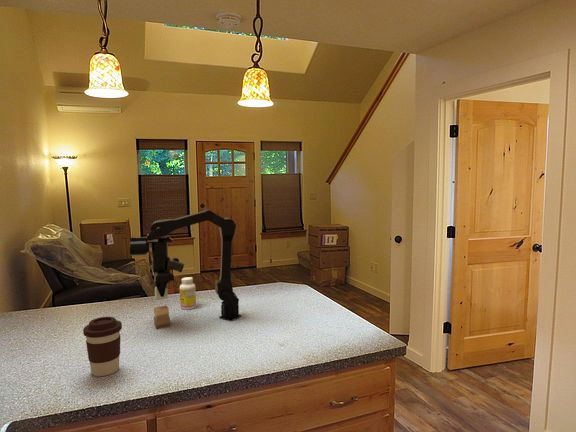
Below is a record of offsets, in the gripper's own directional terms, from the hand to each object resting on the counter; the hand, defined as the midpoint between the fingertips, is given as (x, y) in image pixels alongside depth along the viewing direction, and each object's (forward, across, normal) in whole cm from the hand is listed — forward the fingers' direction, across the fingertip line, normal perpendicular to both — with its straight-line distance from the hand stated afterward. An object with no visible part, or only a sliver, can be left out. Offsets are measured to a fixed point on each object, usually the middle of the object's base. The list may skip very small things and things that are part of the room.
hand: (161, 295), depth 145 cm
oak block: (+8, 0, 0) cm, 8 cm away
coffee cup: (+12, -29, +20) cm, 37 cm away
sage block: (+1, 0, 0) cm, 1 cm away
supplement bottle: (+12, +16, -14) cm, 24 cm away
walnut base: (+12, 0, 0) cm, 12 cm away
